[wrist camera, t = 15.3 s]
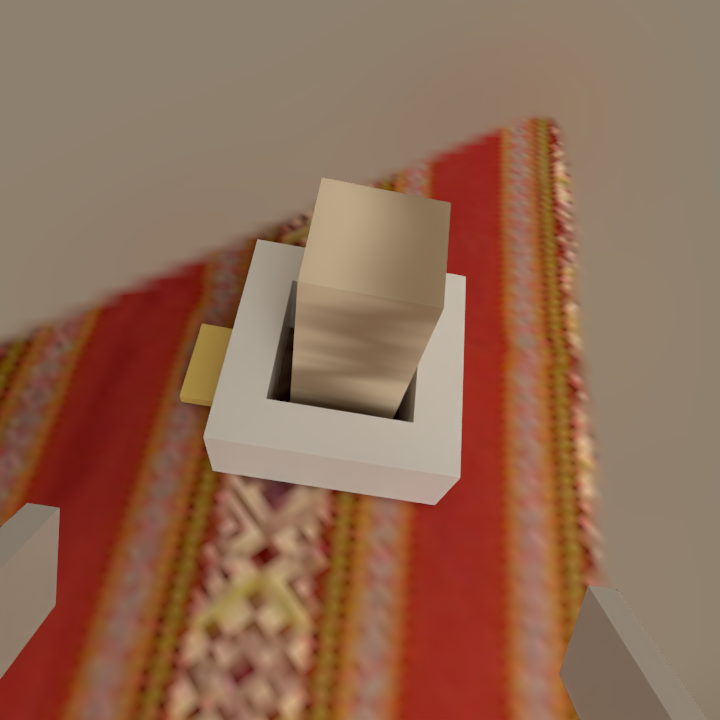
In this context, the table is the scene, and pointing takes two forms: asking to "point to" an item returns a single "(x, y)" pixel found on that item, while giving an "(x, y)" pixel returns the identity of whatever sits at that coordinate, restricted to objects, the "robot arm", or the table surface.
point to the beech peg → (367, 297)
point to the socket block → (320, 425)
